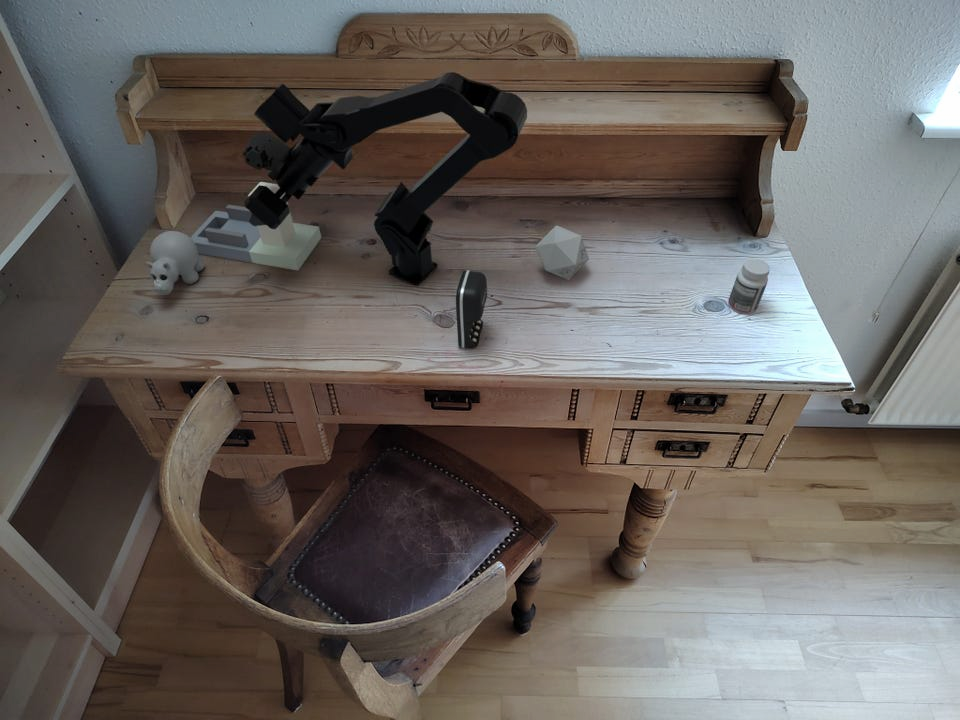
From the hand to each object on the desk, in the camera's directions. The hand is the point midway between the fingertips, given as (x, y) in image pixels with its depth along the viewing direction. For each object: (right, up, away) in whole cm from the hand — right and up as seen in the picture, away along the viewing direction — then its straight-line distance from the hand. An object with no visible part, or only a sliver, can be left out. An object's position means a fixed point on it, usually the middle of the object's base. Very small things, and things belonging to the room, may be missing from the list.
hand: (264, 208), depth 116 cm
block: (+1, -4, +4) cm, 6 cm away
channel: (-4, -5, +7) cm, 9 cm away
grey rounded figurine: (-15, -14, 0) cm, 20 cm away
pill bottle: (+82, -18, -6) cm, 84 cm away
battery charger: (+37, -23, -10) cm, 44 cm away
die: (+52, -11, +1) cm, 53 cm away
